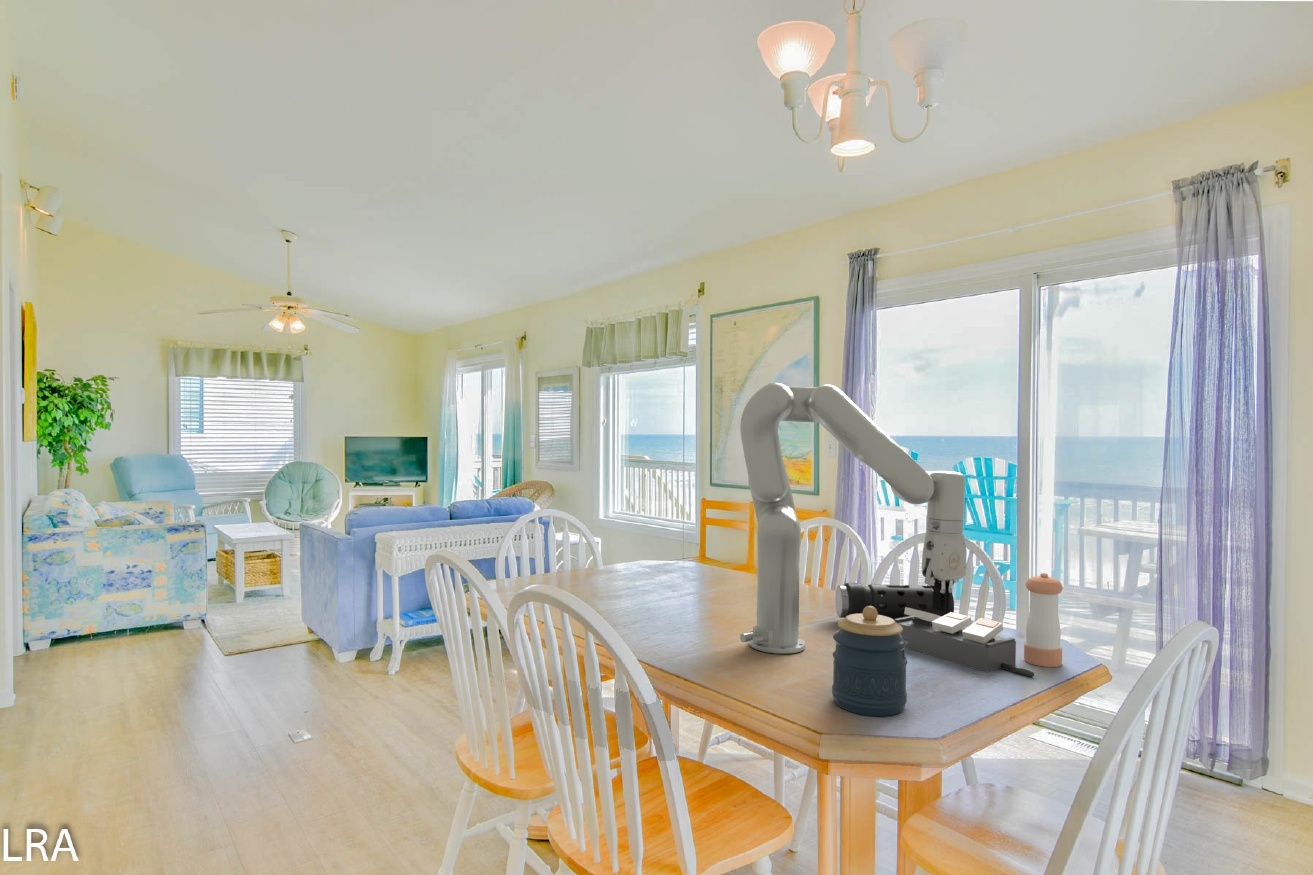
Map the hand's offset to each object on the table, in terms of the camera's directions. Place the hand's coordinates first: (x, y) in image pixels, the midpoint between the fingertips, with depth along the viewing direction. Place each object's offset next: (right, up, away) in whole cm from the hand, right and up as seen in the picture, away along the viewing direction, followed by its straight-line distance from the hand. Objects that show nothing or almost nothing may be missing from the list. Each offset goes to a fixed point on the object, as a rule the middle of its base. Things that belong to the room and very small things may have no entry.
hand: (940, 609), depth 161 cm
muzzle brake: (-2, -10, +27) cm, 29 cm away
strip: (+5, -10, -1) cm, 11 cm away
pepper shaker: (+21, -11, -4) cm, 24 cm away
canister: (-25, -10, -30) cm, 40 cm away
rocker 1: (-1, -3, +8) cm, 8 cm away
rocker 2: (+3, -3, +1) cm, 5 cm away
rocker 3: (+7, -3, -5) cm, 9 cm away
